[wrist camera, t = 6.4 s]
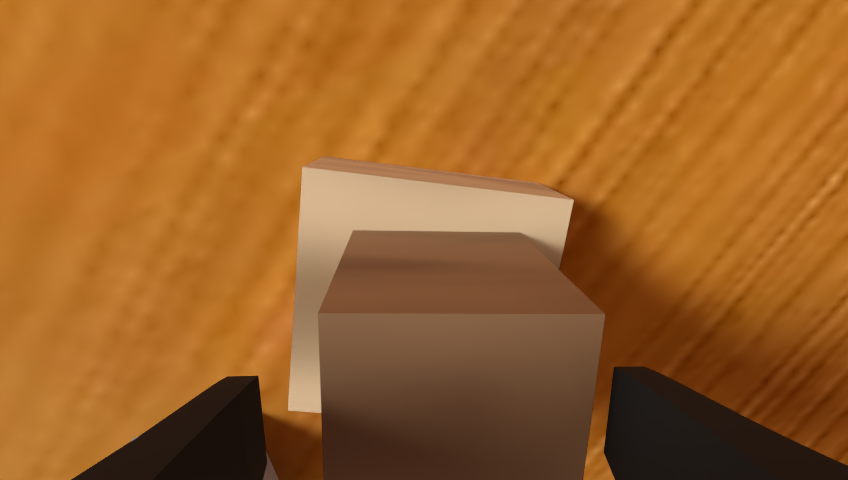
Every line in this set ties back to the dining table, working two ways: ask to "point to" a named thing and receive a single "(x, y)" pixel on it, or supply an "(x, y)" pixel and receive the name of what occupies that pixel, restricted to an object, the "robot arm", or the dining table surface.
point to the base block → (399, 211)
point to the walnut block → (455, 360)
